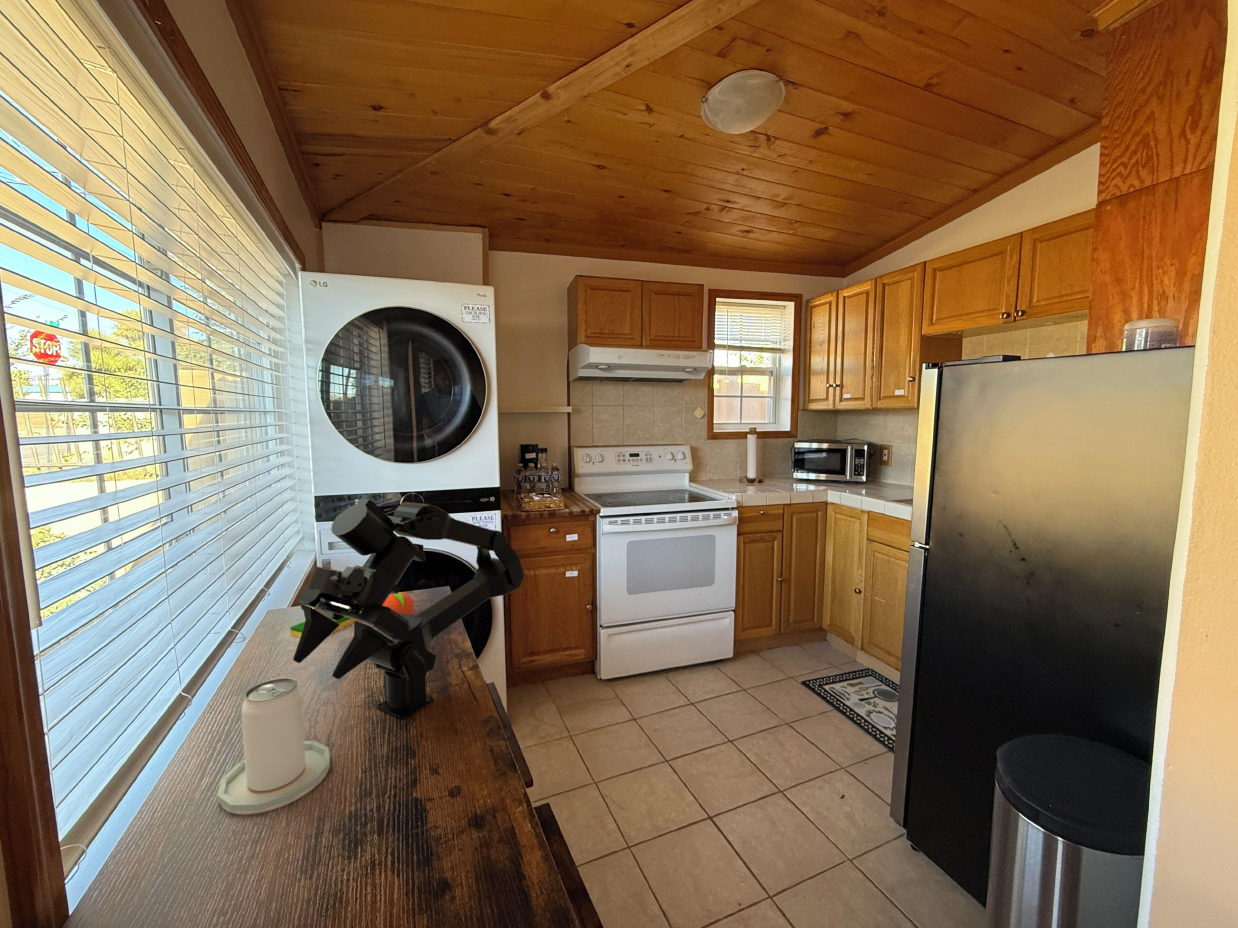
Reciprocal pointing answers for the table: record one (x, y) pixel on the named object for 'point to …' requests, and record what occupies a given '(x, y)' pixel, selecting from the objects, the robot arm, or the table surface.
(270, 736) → the can
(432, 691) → the table surface
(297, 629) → the dish sponge
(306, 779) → the saucer
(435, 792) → the table surface
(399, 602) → the clementine
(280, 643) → the table surface
